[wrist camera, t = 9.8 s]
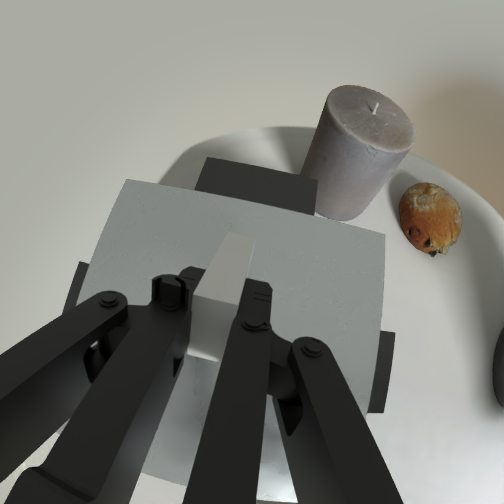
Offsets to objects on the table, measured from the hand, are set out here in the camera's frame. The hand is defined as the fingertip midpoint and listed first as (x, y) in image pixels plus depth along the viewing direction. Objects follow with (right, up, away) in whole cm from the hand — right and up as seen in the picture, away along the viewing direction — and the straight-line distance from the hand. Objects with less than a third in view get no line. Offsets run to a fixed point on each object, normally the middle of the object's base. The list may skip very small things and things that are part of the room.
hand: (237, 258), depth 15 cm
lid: (-1, -4, +1) cm, 4 cm away
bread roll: (+25, +4, +20) cm, 32 cm away
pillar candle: (+12, +8, +21) cm, 25 cm away
